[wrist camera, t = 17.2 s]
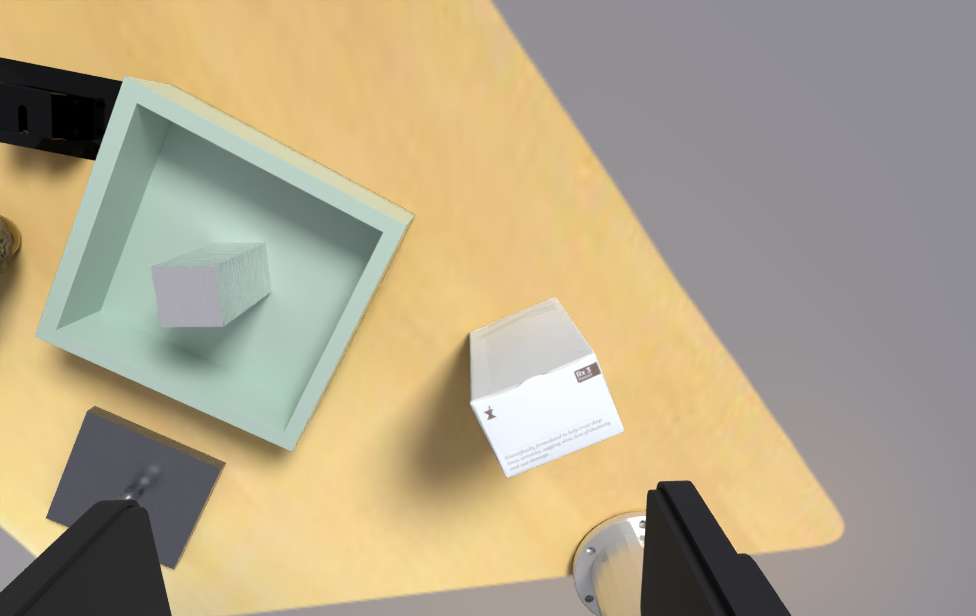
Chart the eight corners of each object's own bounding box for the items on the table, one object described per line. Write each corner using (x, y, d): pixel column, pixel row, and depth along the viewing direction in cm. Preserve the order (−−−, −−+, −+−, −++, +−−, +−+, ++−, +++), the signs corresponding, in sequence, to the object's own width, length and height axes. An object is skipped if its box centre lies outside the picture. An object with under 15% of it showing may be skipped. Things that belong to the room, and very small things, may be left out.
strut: (265, 242, 44) (214, 266, 35) (271, 291, 45) (223, 326, 37) (214, 242, 44) (150, 266, 35) (221, 291, 45) (161, 327, 36)
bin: (415, 214, 45) (406, 225, 39) (313, 415, 49) (292, 451, 44) (173, 85, 42) (124, 75, 36) (89, 312, 46) (34, 336, 41)
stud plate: (225, 463, 51) (202, 493, 46) (179, 561, 53) (152, 599, 49) (94, 406, 49) (56, 432, 44) (53, 511, 52) (14, 545, 47)
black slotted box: (-17, 146, 43) (-77, 147, 38) (-23, 38, 41) (-87, 25, 36) (159, 180, 44) (121, 185, 39) (162, 76, 42) (123, 68, 37)
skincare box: (493, 387, 49) (501, 487, 35) (466, 327, 47) (462, 406, 33) (583, 352, 48) (629, 439, 34) (559, 289, 47) (596, 353, 32)
